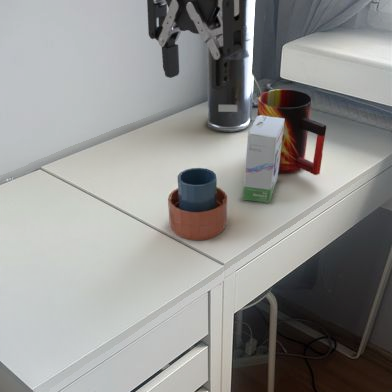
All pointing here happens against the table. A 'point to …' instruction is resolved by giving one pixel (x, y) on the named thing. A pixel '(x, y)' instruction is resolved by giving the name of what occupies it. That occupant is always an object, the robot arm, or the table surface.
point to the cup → (197, 190)
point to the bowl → (197, 218)
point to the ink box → (263, 158)
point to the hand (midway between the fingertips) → (194, 82)
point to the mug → (294, 128)
